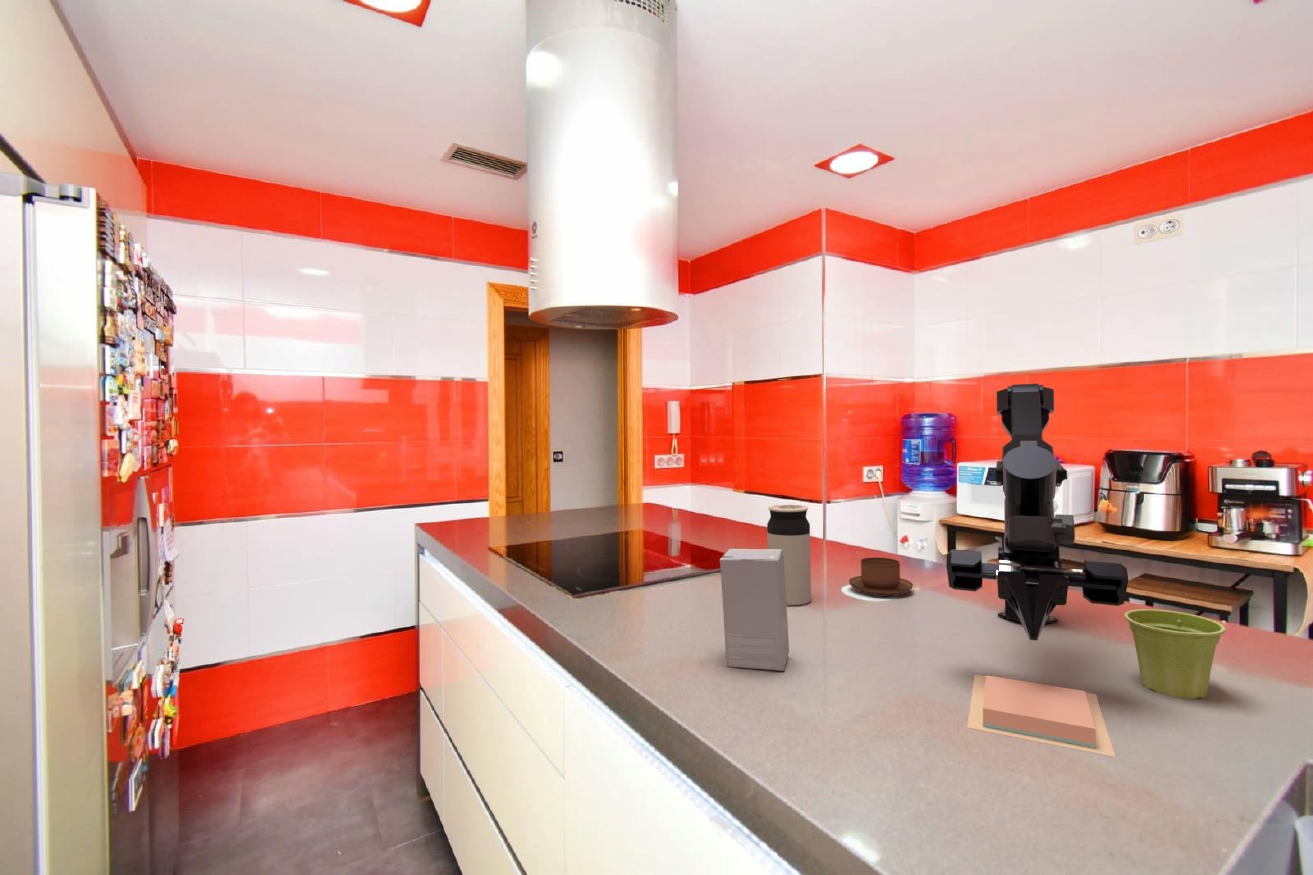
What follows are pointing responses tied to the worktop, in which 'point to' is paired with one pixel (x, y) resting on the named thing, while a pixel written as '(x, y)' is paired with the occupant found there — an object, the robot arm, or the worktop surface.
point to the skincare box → (755, 608)
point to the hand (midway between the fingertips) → (1033, 638)
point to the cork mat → (1100, 731)
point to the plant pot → (1174, 650)
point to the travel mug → (792, 549)
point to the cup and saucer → (880, 577)
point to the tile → (1038, 711)
